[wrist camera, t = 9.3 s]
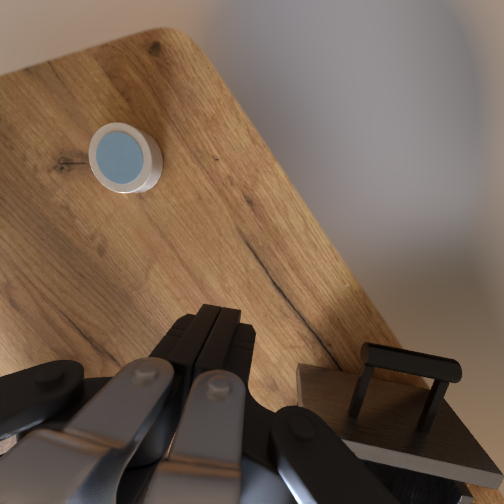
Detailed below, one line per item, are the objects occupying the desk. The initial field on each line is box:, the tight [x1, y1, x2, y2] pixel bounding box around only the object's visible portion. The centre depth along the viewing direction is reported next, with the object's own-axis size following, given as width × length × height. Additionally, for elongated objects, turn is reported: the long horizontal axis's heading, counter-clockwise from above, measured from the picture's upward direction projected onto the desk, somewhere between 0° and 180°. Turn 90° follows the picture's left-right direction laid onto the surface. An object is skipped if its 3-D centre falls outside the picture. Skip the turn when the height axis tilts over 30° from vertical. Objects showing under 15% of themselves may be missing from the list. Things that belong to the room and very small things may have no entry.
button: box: [89, 122, 163, 193], centre depth 21 cm, size 5×5×2 cm
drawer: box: [296, 342, 504, 504], centre depth 21 cm, size 20×12×7 cm, turn 171°
